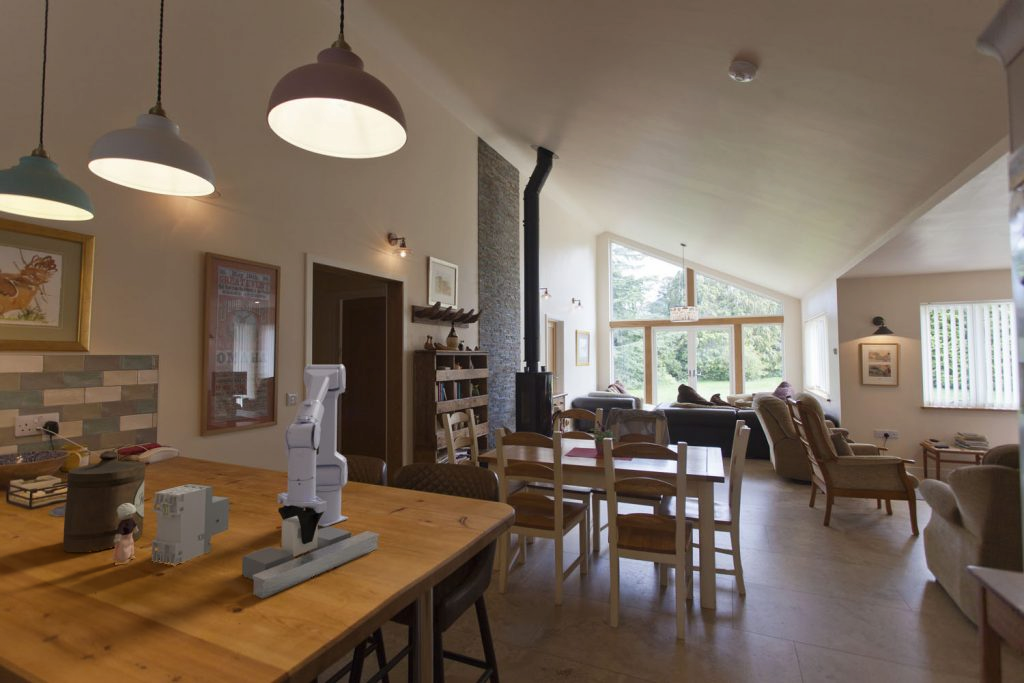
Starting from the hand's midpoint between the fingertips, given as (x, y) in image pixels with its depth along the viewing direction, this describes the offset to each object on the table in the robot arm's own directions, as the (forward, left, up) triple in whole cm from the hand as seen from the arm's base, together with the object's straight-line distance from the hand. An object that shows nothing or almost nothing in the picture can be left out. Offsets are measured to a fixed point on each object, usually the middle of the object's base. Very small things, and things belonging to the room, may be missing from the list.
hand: (300, 540), depth 104 cm
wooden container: (-52, -17, -5) cm, 55 cm away
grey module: (0, 0, -2) cm, 2 cm away
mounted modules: (0, 0, -5) cm, 5 cm away
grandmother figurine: (-33, -20, -5) cm, 39 cm away
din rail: (+7, 0, -5) cm, 9 cm away
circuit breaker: (-26, -9, -5) cm, 28 cm away
